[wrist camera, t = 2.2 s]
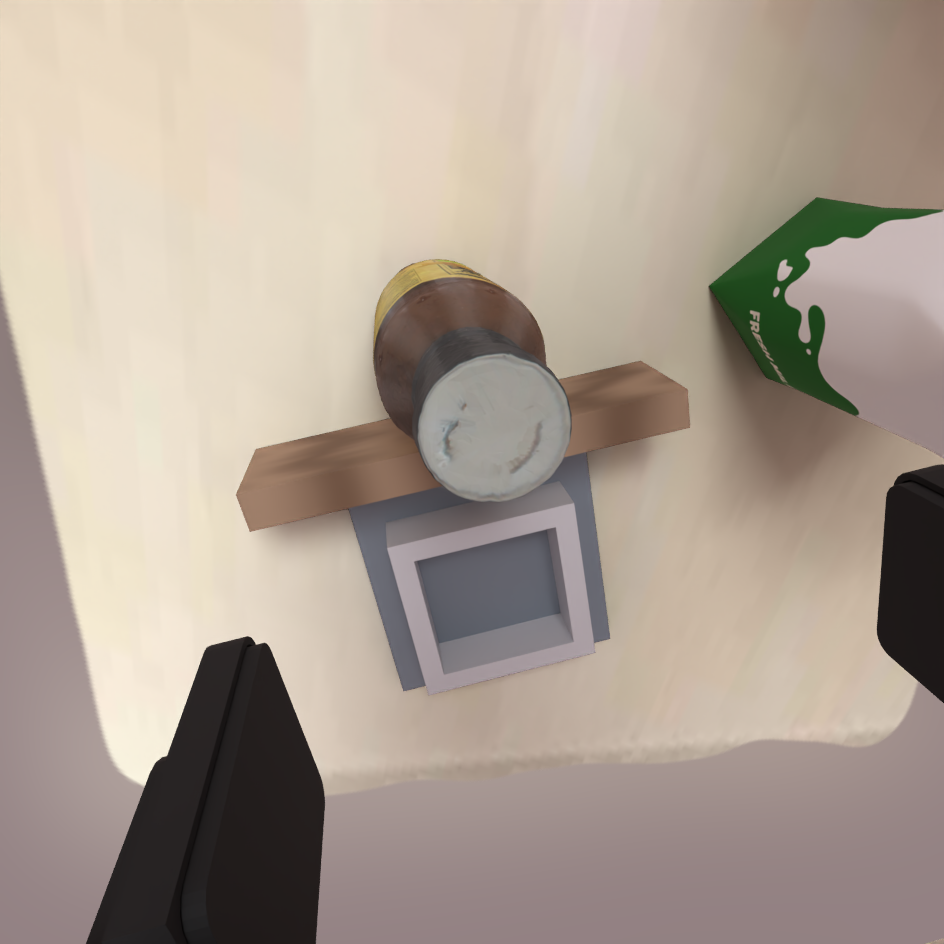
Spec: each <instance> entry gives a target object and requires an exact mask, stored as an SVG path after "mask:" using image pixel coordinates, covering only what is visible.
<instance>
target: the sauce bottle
mask: <svg viewBox="0 0 944 944" xmlns="http://www.w3.org/2000/svg"><path fill="white" fill-rule="evenodd" d="M373 363H374V371H375V376H376V381H377V386H378V389H379V393H380V396H381V400H382V402H383V405H384V407H385V409H386V411H387V413H388V414H389V416H390V418H391V420H392V421H393V423H394V424H395V425H396V426H397V427H398V428H399V429H400V430H402V431H403V432H404V433H405V434H406V435H408V436H409V437H410V438H412V439H413V440H414V441H415V444H416V446H417V448H418V451H419V453H420V456H421V458H422V460H423V462H424V464H425V466H426V468H427V469H428V471H429V472H430V473H431V475H432V476H433V478H434V479H435V480H436V481H438V482H439V483H440V484H441V485H442V486H443V487H444V488H445V489H447V490H448V491H450V492H452V493H453V494H455V495H457V496H459V497H462V498H466V499H469V500H473V501H478V502H489V501H490V502H504V501H509V500H512V499H515V498H519V497H522V496H525V495H526V494H527V493H529V492H531V491H533V490H534V489H536V488H537V487H538V486H540V485H541V484H543V483H544V482H545V481H547V480H548V479H549V478H551V476H552V475H553V473H554V472H555V471H556V469H557V468H558V466H559V465H560V463H561V462H562V460H563V458H564V455H565V453H566V451H567V448H568V446H569V443H570V437H571V430H572V414H571V409H570V405H569V401H568V398H567V395H566V392H565V389H564V388H563V386H562V385H561V383H560V382H559V381H558V379H557V378H556V376H555V375H554V373H553V372H552V371H551V370H550V369H549V368H548V367H547V366H546V354H545V345H544V340H543V336H542V333H541V330H540V328H539V326H538V324H537V321H536V320H535V318H534V317H533V315H532V314H531V312H530V311H529V310H528V309H527V307H526V306H525V305H524V304H523V303H522V302H521V301H520V300H519V299H518V298H517V297H515V296H514V295H513V294H511V293H510V292H508V291H507V290H505V289H504V288H502V287H501V286H499V285H497V284H495V283H493V282H492V281H490V280H489V279H487V278H485V277H483V276H482V275H480V274H479V273H477V272H475V271H473V270H472V269H470V268H468V267H466V266H465V265H463V264H460V263H457V262H454V261H449V260H440V259H435V260H426V261H422V262H418V263H414V264H411V265H409V266H407V267H405V268H403V269H402V270H401V271H399V273H398V274H397V275H396V276H395V277H394V278H393V279H392V280H391V281H390V282H389V283H388V284H387V286H386V287H385V289H384V290H383V292H382V294H381V296H380V299H379V301H378V304H377V308H376V314H375V326H374V350H373Z"/></svg>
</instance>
